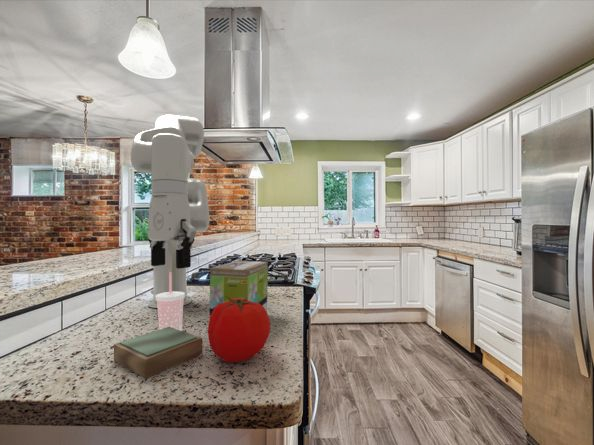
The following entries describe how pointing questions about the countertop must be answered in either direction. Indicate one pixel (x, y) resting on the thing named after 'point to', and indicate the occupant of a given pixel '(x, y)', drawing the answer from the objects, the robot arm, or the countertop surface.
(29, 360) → the countertop surface
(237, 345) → the tomato
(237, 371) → the countertop surface
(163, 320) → the beverage cup
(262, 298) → the tea box
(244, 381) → the countertop surface
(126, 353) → the podium
